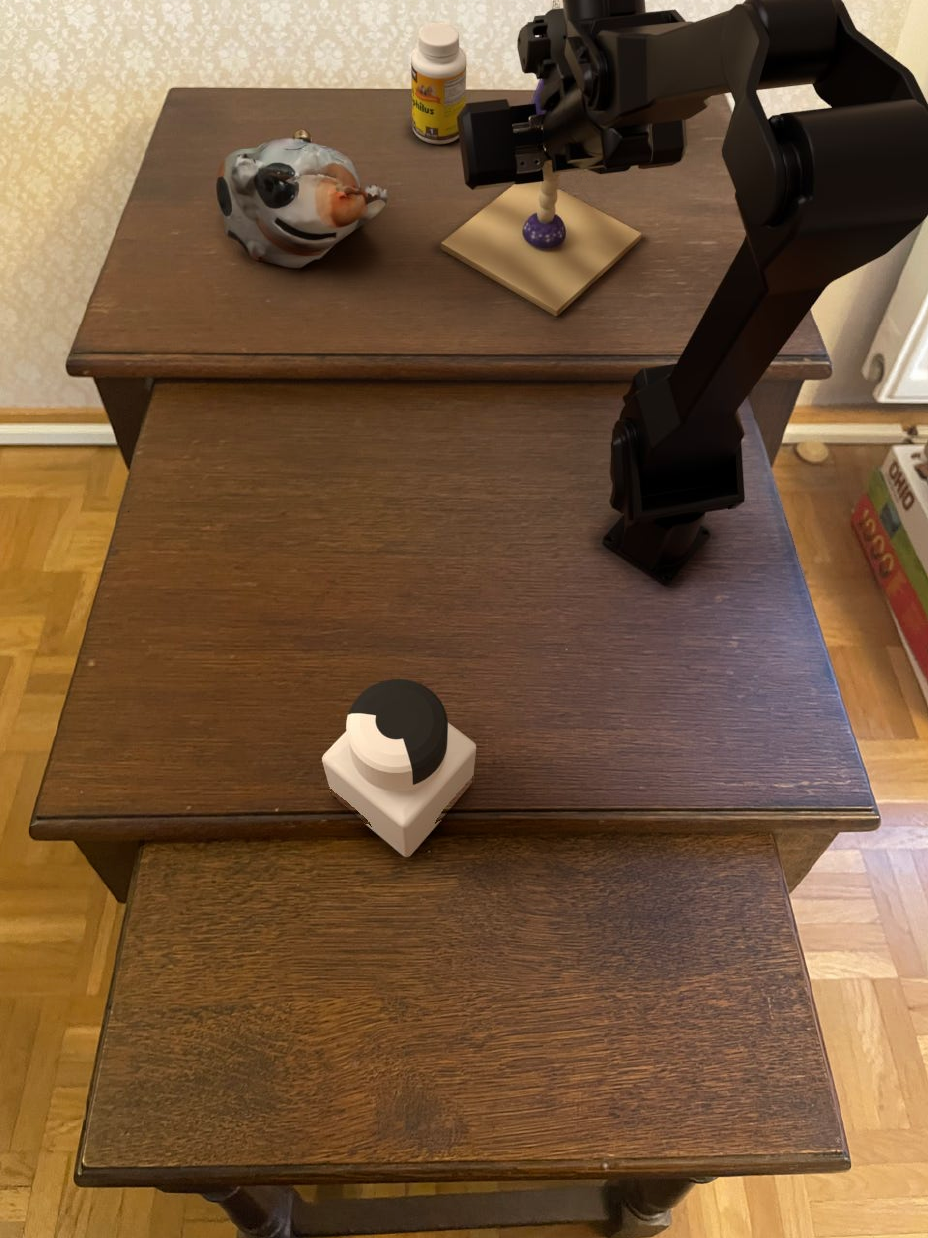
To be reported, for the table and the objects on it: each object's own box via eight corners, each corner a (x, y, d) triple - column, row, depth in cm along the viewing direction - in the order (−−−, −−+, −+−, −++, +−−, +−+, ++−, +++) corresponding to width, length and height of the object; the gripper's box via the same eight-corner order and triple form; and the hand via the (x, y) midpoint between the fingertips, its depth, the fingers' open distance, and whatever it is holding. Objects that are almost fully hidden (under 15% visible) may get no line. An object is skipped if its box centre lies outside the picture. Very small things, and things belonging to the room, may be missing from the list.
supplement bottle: (402, 125, 104) (399, 27, 95) (445, 108, 105) (446, 10, 97) (430, 153, 102) (430, 55, 93) (474, 135, 103) (478, 38, 94)
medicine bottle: (397, 722, 70) (391, 643, 59) (474, 783, 68) (482, 712, 57) (329, 795, 67) (310, 726, 57) (407, 861, 65) (402, 802, 55)
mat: (556, 316, 90) (557, 310, 90) (440, 249, 95) (440, 242, 94) (640, 239, 96) (642, 233, 95) (527, 179, 100) (528, 172, 99)
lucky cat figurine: (373, 185, 99) (405, 106, 85) (358, 298, 97) (389, 236, 84) (222, 144, 94) (232, 55, 81) (205, 262, 93) (212, 190, 80)
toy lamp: (573, 248, 93) (599, 78, 79) (527, 256, 93) (544, 85, 78) (558, 216, 96) (580, 45, 81) (512, 223, 95) (526, 52, 80)
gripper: (709, -20, 72) (636, 47, 87) (464, 4, 70) (433, 68, 85) (719, 143, 75) (647, 180, 90) (485, 171, 73) (451, 205, 88)
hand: (547, 156), depth 88 cm, fingers closed on toy lamp, 3 cm apart
